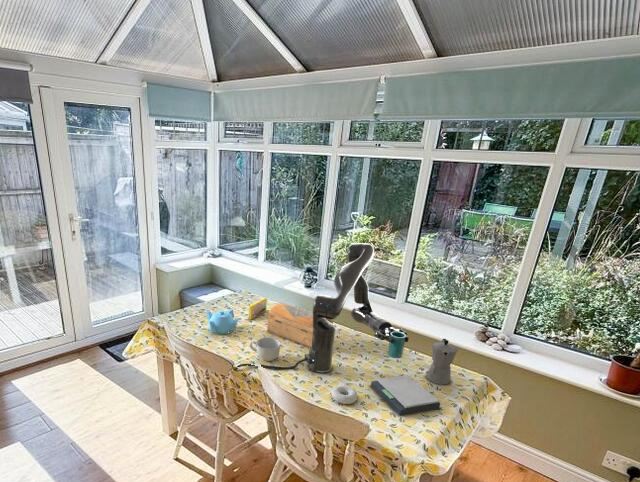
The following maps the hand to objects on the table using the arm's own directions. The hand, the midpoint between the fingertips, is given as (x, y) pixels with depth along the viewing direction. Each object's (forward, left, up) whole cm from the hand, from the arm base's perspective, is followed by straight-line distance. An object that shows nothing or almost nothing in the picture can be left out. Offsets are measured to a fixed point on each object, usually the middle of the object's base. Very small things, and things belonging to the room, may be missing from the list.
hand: (400, 340), depth 178 cm
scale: (-12, -23, -12) cm, 28 cm away
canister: (0, +2, -8) cm, 8 cm away
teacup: (-55, +21, -12) cm, 60 cm away
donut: (-35, -18, -12) cm, 41 cm away
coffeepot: (+11, -14, -12) cm, 21 cm away
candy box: (-44, +70, -12) cm, 84 cm away
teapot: (-68, +55, -12) cm, 88 cm away
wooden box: (-31, +40, -12) cm, 52 cm away
